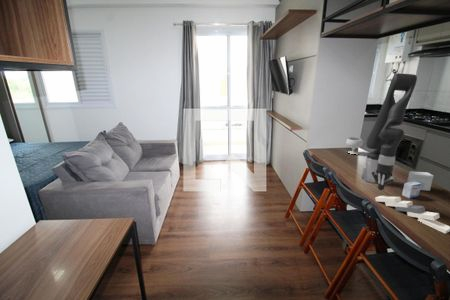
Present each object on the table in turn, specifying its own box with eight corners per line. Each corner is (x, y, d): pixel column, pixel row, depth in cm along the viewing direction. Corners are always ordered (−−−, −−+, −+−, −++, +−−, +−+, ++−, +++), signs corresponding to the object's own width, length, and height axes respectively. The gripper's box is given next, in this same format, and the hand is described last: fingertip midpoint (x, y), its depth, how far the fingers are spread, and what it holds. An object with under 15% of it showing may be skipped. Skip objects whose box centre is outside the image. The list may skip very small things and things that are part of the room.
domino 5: (418, 217, 110) (446, 230, 101) (424, 215, 112) (452, 227, 103) (417, 221, 111) (445, 234, 101) (423, 219, 113) (451, 231, 103)
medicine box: (409, 198, 132) (412, 185, 129) (401, 195, 136) (404, 182, 133) (418, 196, 134) (421, 183, 131) (410, 193, 138) (413, 180, 135)
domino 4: (407, 211, 115) (433, 216, 105) (412, 209, 117) (438, 213, 107) (407, 215, 115) (434, 220, 105) (413, 213, 117) (439, 217, 107)
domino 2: (384, 201, 125) (406, 203, 115) (390, 199, 127) (412, 201, 117) (385, 205, 125) (407, 207, 115) (391, 203, 127) (413, 205, 117)
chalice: (364, 154, 210) (367, 139, 206) (352, 156, 207) (355, 141, 203) (352, 150, 223) (355, 136, 219) (341, 152, 220) (343, 137, 215)
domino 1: (375, 197, 130) (394, 198, 120) (380, 195, 132) (400, 196, 122) (375, 201, 130) (395, 202, 120) (381, 199, 132) (401, 200, 122)
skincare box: (424, 186, 145) (428, 172, 142) (430, 191, 140) (434, 176, 136) (406, 185, 148) (409, 170, 145) (410, 189, 142) (414, 174, 139)
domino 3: (394, 206, 120) (418, 208, 110) (400, 204, 122) (424, 206, 112) (395, 210, 120) (419, 213, 110) (401, 208, 122) (425, 210, 112)
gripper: (402, 165, 119) (396, 193, 124) (378, 158, 131) (373, 184, 136) (394, 167, 117) (388, 196, 122) (370, 160, 128) (365, 186, 133)
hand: (380, 189), depth 129 cm, fingers closed
